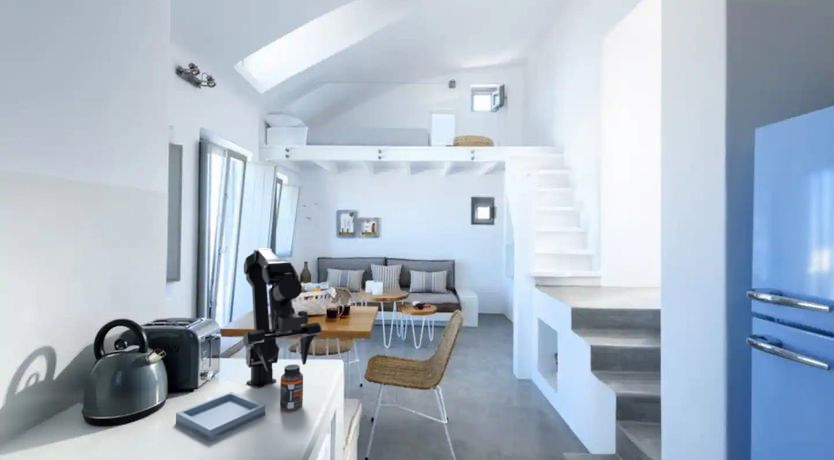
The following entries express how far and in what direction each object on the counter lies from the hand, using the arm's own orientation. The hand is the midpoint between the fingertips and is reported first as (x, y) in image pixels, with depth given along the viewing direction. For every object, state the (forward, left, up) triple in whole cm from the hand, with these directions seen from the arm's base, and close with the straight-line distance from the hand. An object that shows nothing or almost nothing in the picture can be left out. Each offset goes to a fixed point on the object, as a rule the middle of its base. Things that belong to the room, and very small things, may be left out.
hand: (286, 367), depth 101 cm
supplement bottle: (-5, +6, -14) cm, 16 cm away
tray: (-15, -8, -14) cm, 22 cm away
